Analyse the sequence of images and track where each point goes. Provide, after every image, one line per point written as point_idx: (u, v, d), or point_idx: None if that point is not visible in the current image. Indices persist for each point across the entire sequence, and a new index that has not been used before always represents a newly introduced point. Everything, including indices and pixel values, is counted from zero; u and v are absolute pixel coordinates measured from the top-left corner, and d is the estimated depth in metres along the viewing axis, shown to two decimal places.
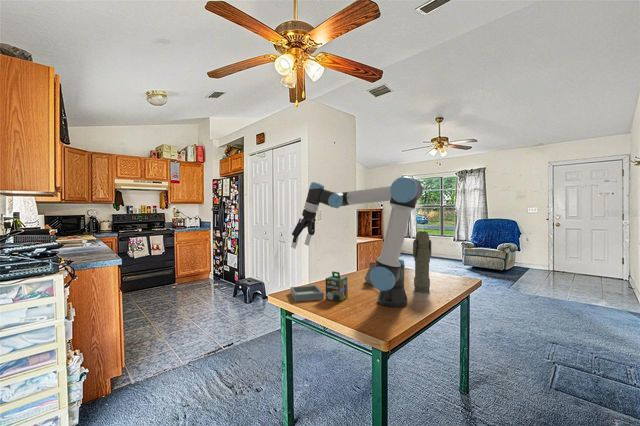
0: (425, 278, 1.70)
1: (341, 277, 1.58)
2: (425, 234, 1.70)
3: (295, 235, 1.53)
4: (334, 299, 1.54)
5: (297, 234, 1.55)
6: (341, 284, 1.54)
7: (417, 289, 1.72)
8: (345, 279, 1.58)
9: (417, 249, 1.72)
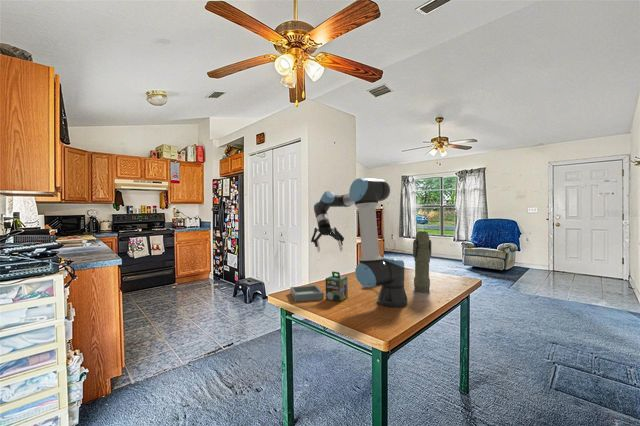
0: (425, 278, 1.70)
1: (341, 277, 1.58)
2: (425, 234, 1.70)
3: None
4: (334, 299, 1.54)
5: None
6: (341, 284, 1.54)
7: (417, 289, 1.72)
8: (345, 279, 1.58)
9: (417, 249, 1.72)
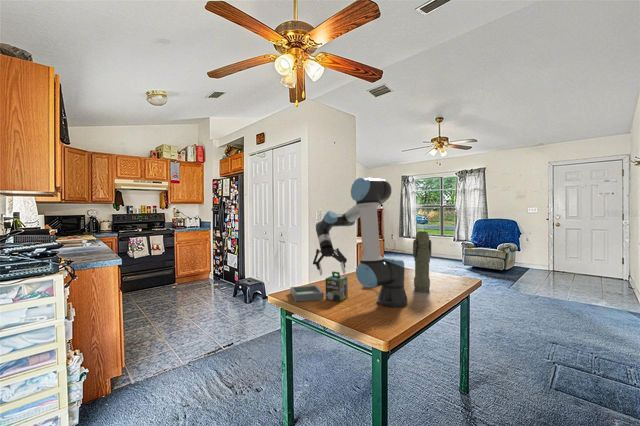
0: (425, 278, 1.70)
1: (341, 277, 1.58)
2: (425, 234, 1.70)
3: (313, 261, 1.65)
4: (334, 299, 1.54)
5: (317, 261, 1.66)
6: (341, 284, 1.54)
7: (417, 289, 1.72)
8: (345, 279, 1.58)
9: (417, 249, 1.72)
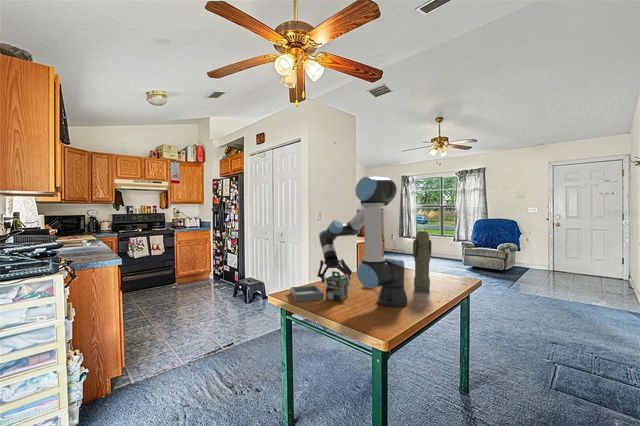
0: (425, 278, 1.70)
1: (341, 277, 1.58)
2: (425, 234, 1.70)
3: (318, 273, 1.58)
4: (334, 299, 1.54)
5: (322, 273, 1.59)
6: (341, 284, 1.54)
7: (417, 289, 1.72)
8: (345, 279, 1.58)
9: (417, 249, 1.72)
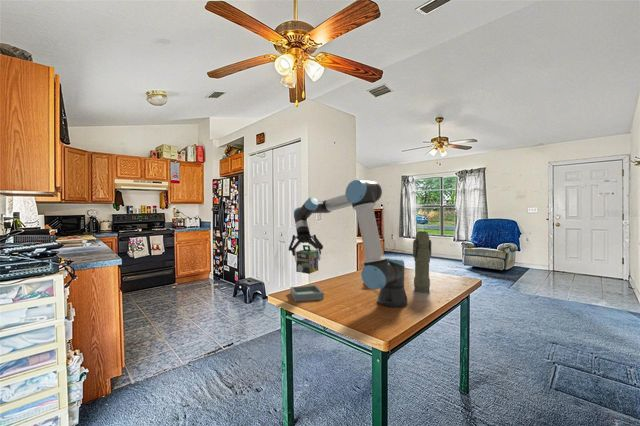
0: (425, 278, 1.70)
1: (311, 250, 1.62)
2: (425, 234, 1.70)
3: (289, 247, 1.62)
4: (304, 271, 1.58)
5: (293, 247, 1.63)
6: (311, 257, 1.58)
7: (417, 289, 1.72)
8: (315, 252, 1.61)
9: (417, 249, 1.72)
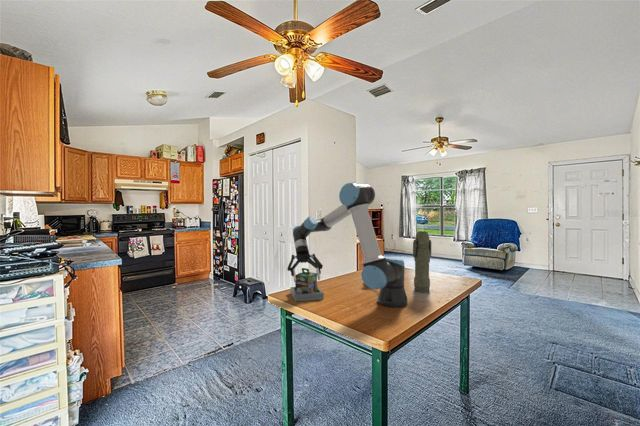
0: (425, 278, 1.70)
1: (310, 273, 1.62)
2: (425, 234, 1.70)
3: None
4: None
5: None
6: (310, 280, 1.58)
7: (417, 289, 1.72)
8: (314, 275, 1.62)
9: (417, 249, 1.72)
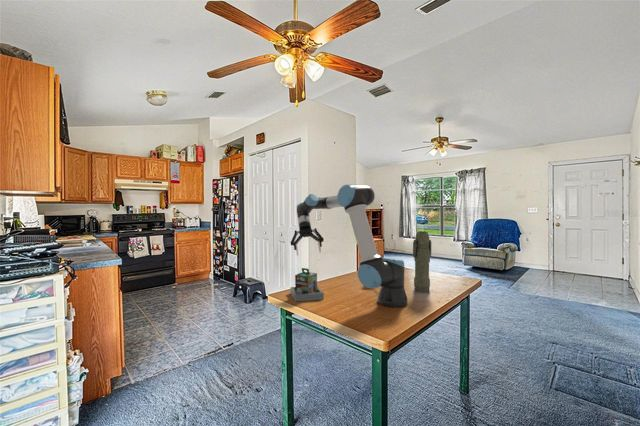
0: (425, 278, 1.70)
1: (310, 273, 1.62)
2: (425, 234, 1.70)
3: None
4: None
5: (294, 242, 1.77)
6: (310, 280, 1.58)
7: (417, 289, 1.72)
8: (314, 275, 1.62)
9: (417, 249, 1.72)
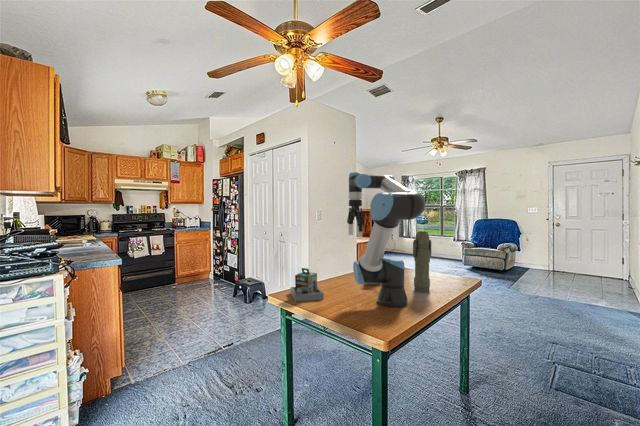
0: (425, 278, 1.70)
1: (310, 273, 1.62)
2: (425, 234, 1.70)
3: (347, 221, 1.79)
4: None
5: (348, 221, 1.76)
6: (310, 280, 1.58)
7: (417, 289, 1.72)
8: (314, 275, 1.62)
9: (417, 249, 1.72)
